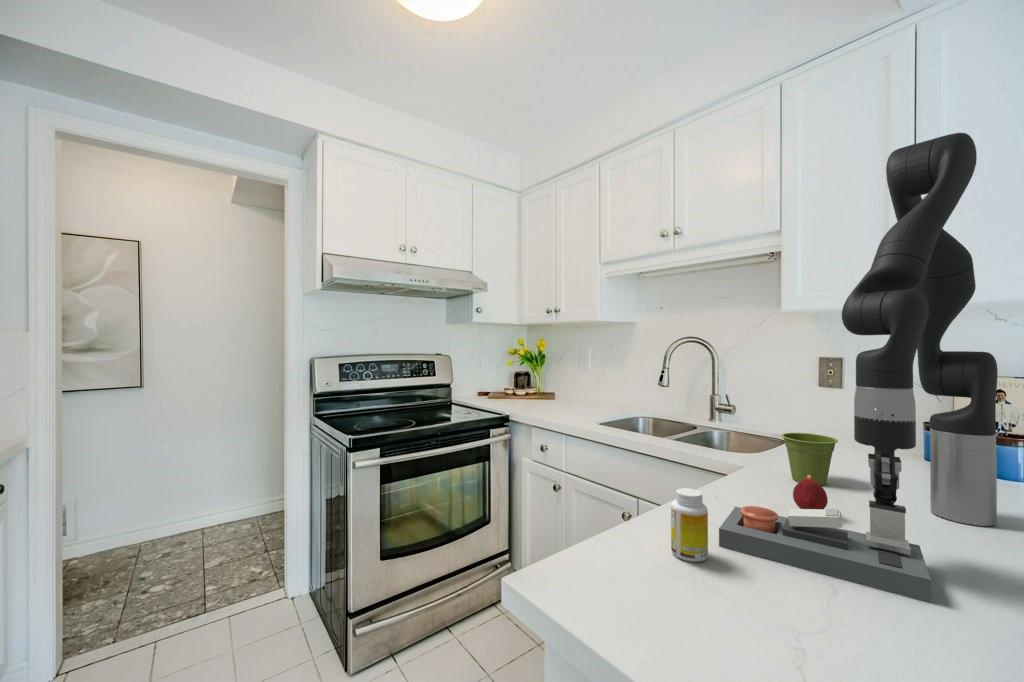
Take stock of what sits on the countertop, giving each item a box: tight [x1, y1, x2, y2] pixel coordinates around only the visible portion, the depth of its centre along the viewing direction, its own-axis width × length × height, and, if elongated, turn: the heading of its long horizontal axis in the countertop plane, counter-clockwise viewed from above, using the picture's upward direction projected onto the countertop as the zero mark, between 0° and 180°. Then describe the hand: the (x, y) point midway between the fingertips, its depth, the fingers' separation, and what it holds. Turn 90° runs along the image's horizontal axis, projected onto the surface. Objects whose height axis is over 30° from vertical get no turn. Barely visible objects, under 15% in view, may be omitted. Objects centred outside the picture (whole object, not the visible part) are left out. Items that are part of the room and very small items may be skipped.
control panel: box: [718, 506, 932, 604], centre depth 71 cm, size 13×26×4 cm, turn 52°
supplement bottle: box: [670, 487, 709, 563], centre depth 70 cm, size 6×6×10 cm
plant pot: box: [781, 432, 839, 486], centre depth 110 cm, size 12×12×11 cm
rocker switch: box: [787, 508, 844, 529], centre depth 71 cm, size 4×7×2 cm, turn 52°
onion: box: [792, 475, 829, 510], centre depth 87 cm, size 6×6×8 cm
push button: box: [740, 505, 779, 534], centre depth 76 cm, size 6×6×4 cm
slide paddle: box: [865, 499, 911, 555], centre depth 66 cm, size 4×5×6 cm
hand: (884, 523), depth 69 cm, fingers closed
